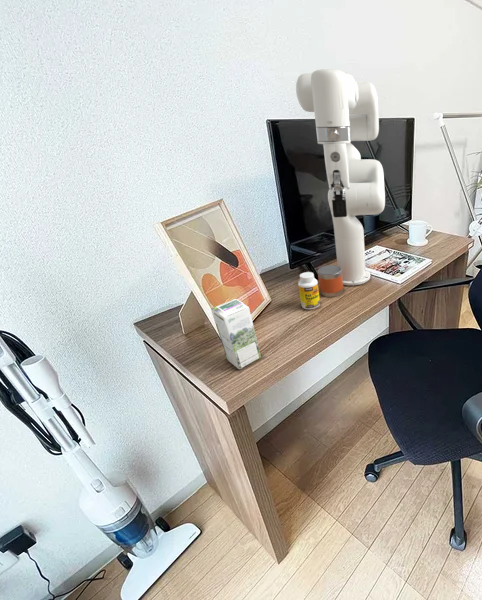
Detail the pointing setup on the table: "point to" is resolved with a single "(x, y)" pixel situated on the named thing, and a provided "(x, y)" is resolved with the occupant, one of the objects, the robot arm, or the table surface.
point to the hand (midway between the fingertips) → (340, 211)
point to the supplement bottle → (308, 291)
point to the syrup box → (236, 333)
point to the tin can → (330, 280)
